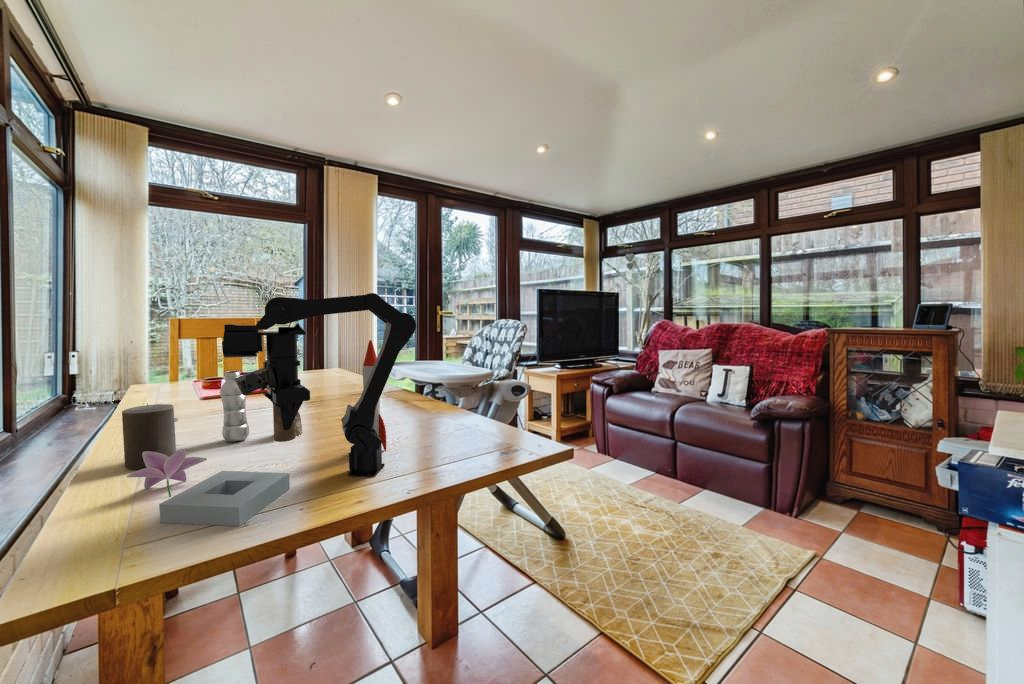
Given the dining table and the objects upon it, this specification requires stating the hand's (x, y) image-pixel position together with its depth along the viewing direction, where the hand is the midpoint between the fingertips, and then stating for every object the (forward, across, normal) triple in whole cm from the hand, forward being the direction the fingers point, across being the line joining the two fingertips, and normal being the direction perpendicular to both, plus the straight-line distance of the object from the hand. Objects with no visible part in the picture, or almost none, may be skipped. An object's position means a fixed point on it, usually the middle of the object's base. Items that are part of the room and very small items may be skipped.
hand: (284, 427), depth 90 cm
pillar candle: (+14, -35, -22) cm, 44 cm away
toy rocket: (+13, -9, +23) cm, 28 cm away
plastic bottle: (+13, -41, -4) cm, 43 cm away
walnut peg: (+2, 0, 0) cm, 2 cm away
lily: (+13, -13, -20) cm, 27 cm away
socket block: (+13, +3, -10) cm, 17 cm away
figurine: (+13, -37, +9) cm, 40 cm away
